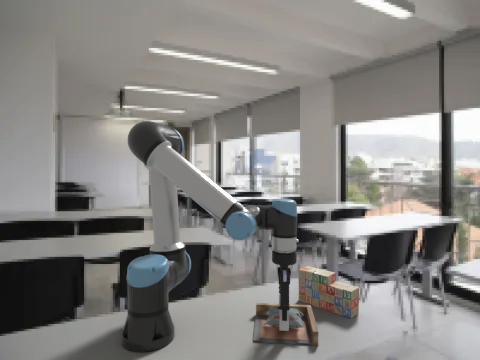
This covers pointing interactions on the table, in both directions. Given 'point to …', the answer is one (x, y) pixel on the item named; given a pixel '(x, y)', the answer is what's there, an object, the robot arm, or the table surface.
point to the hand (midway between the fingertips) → (283, 322)
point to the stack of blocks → (328, 292)
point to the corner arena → (293, 336)
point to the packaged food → (293, 318)
